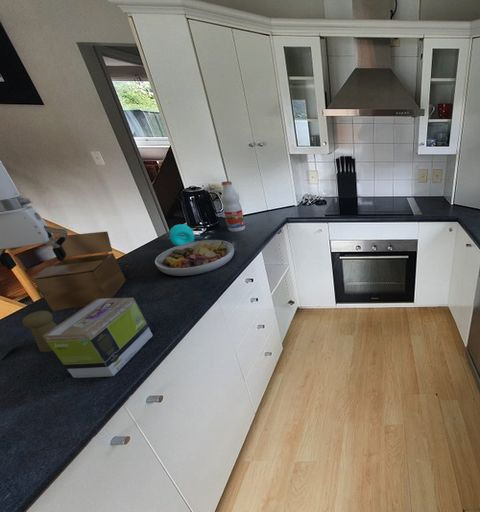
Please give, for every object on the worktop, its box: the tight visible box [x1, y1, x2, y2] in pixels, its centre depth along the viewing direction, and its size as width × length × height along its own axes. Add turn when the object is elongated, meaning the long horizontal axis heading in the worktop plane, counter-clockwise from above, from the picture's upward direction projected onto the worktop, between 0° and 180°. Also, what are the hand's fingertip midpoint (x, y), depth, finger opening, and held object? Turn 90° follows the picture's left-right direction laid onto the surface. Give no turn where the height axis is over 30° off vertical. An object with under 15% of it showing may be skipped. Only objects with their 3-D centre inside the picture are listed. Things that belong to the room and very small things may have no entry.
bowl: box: [154, 239, 235, 277], centre depth 123 cm, size 30×30×8 cm
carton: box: [31, 252, 127, 312], centre depth 98 cm, size 15×16×13 cm
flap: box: [53, 231, 113, 258], centre depth 101 cm, size 15×8×1 cm
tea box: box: [43, 297, 154, 379], centre depth 72 cm, size 15×10×15 cm
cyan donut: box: [169, 223, 196, 247], centre depth 140 cm, size 10×10×10 cm
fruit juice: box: [220, 180, 246, 233], centre depth 157 cm, size 9×9×28 cm
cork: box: [22, 310, 59, 353], centre depth 76 cm, size 6×6×11 cm
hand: (38, 263), depth 78 cm, fingers open, 9 cm apart
